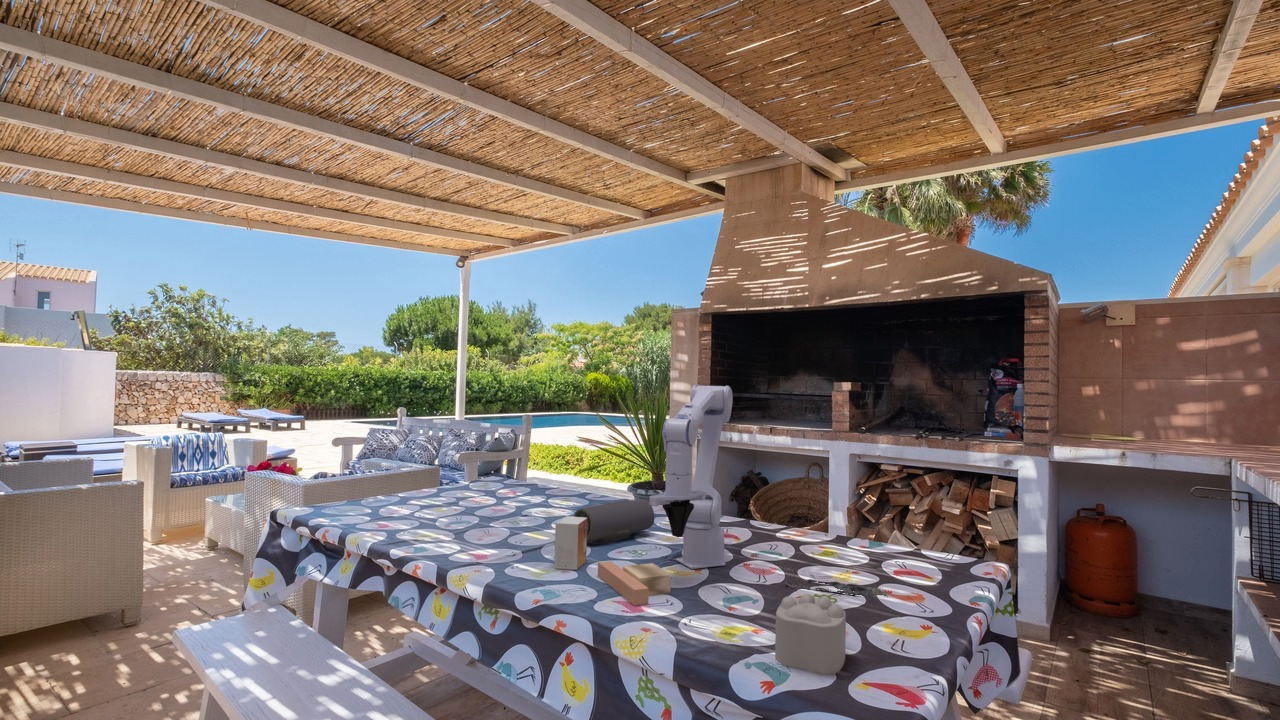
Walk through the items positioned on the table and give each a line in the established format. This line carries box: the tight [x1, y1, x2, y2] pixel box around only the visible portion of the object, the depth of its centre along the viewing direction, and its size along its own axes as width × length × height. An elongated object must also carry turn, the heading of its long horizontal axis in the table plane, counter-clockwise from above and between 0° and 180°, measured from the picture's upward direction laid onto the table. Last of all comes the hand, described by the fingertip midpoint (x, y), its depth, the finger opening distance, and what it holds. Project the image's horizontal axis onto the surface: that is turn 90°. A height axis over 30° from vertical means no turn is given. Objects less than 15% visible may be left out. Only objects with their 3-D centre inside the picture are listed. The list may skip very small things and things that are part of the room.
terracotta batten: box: [597, 560, 649, 607], centre depth 132 cm, size 3×20×3 cm, turn 24°
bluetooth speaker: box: [573, 499, 655, 543], centre depth 175 cm, size 23×9×10 cm, turn 133°
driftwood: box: [784, 578, 888, 597], centre depth 136 cm, size 21×7×2 cm, turn 67°
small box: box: [553, 516, 588, 571], centre depth 149 cm, size 8×6×10 cm
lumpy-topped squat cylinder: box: [774, 593, 847, 675], centre depth 102 cm, size 10×13×9 cm
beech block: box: [622, 562, 672, 597], centre depth 133 cm, size 7×9×4 cm
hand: (677, 536), depth 138 cm, fingers closed
